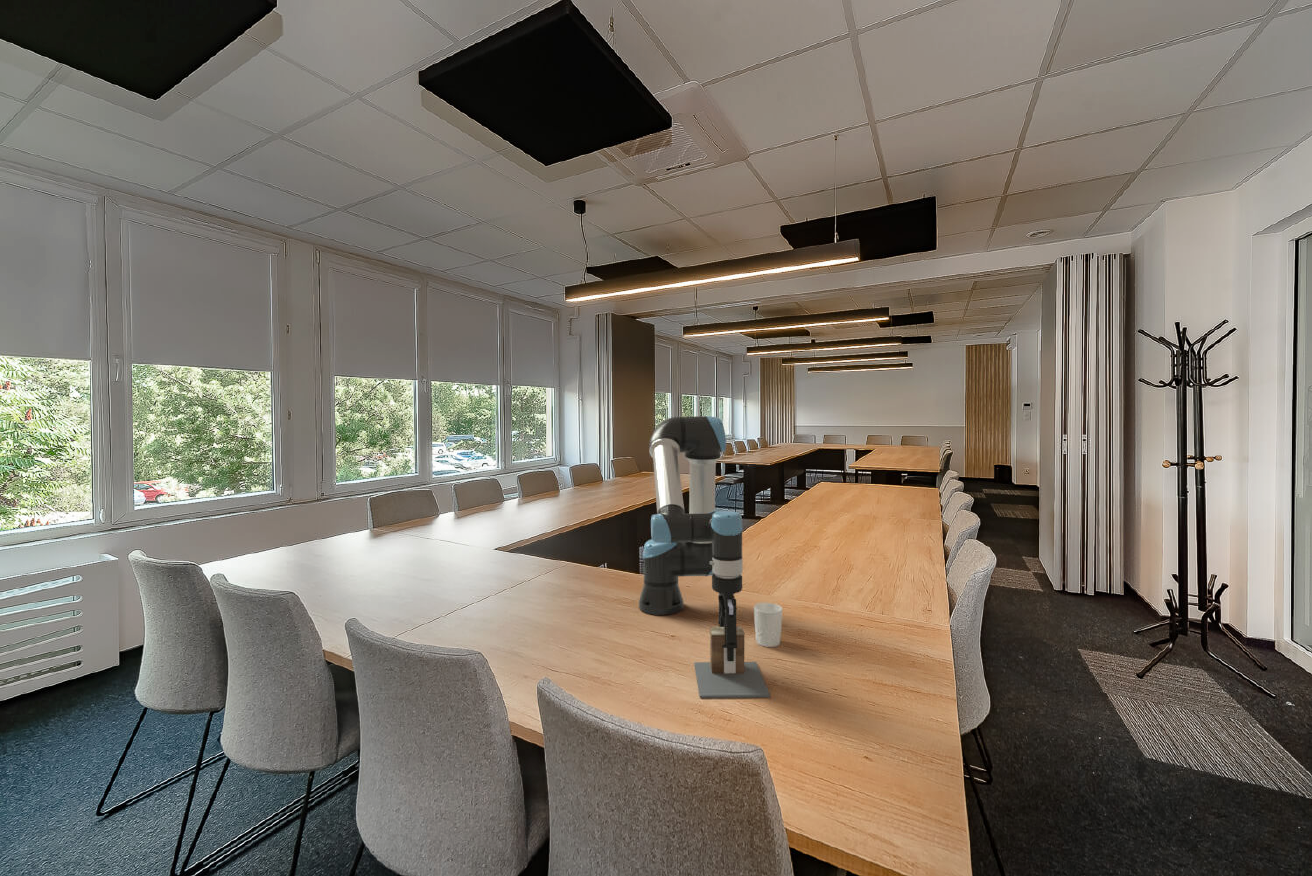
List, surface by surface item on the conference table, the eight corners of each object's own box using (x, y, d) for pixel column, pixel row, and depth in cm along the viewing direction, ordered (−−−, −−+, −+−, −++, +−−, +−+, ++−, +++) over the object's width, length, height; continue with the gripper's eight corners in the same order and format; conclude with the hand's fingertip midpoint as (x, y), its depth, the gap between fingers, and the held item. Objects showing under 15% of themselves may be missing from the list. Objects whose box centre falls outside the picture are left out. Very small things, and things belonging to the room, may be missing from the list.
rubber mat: (694, 664, 132) (694, 662, 132) (756, 664, 132) (756, 661, 132) (699, 698, 116) (699, 695, 116) (770, 697, 116) (770, 695, 116)
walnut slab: (710, 665, 130) (710, 627, 130) (741, 665, 130) (741, 626, 130) (712, 673, 126) (711, 633, 126) (744, 673, 126) (744, 633, 126)
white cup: (761, 650, 140) (761, 614, 140) (749, 638, 148) (749, 604, 148) (787, 646, 142) (787, 611, 142) (773, 635, 150) (773, 601, 150)
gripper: (707, 562, 138) (708, 646, 138) (717, 587, 117) (717, 685, 118) (735, 562, 138) (735, 646, 138) (749, 587, 117) (749, 685, 118)
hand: (727, 664), depth 128 cm, fingers open, 8 cm apart
